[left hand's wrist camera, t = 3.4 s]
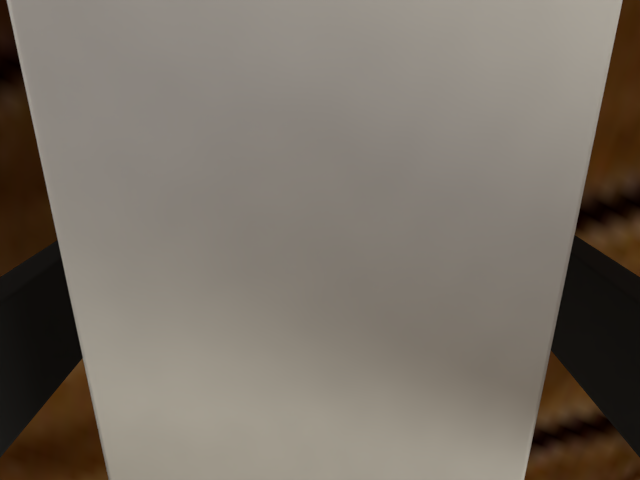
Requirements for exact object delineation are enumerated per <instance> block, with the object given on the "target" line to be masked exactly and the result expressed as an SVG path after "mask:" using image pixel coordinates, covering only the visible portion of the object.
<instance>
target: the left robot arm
mask: <svg viewBox="0 0 640 480" xmlns="http://www.w3.org/2000/svg"><path fill="white" fill-rule="evenodd" d="M551 351H552V352H553V353H554V354H555V355H556V357H557V358H558V359H559V360H560V362H561V363H562V364H563V365H564V366H565V368H566V369H567V370H568V371H569V372H570V374H571V375H572V376H573V377H574V378H575V380H576V381H577V382H578V383H579V385H580V386H581V387H582V388H583V389H584V391H585V392H586V393H587V394H588V395H589V397H590V398H591V399H592V400H593V401H594V403H595V404H596V405H597V406H598V408H599V409H600V410H601V411H602V412H603V414H604V415H605V416H606V417H607V418H608V420H609V421H610V422H611V423H612V424H613V426H614V427H615V428H616V429H617V431H618V432H619V433H620V434H621V435H622V437H623V438H624V439H625V440H626V441H627V443H628V444H629V445H630V446H631V447H632V449H633V450H634V451H635V452H636V454H637V455H638V456H639V457H640V277H638V276H637V275H635V274H634V273H632V272H631V271H629V270H628V269H626V268H625V267H623V266H621V265H620V264H618V263H617V262H615V261H614V260H612V259H611V258H609V257H608V256H606V255H604V254H603V253H601V252H600V251H598V250H597V249H595V248H594V247H592V246H591V245H589V244H587V243H586V242H584V241H583V240H581V239H580V238H578V237H577V236H575V235H574V239H573V244H572V248H571V253H570V258H569V263H568V268H567V273H566V278H565V283H564V287H563V292H562V297H561V302H560V307H559V312H558V317H557V321H556V326H555V331H554V336H553V341H552V346H551ZM82 358H83V356H82V351H81V347H80V342H79V337H78V333H77V328H76V323H75V319H74V314H73V309H72V304H71V300H70V295H69V290H68V286H67V281H66V276H65V272H64V267H63V262H62V258H61V253H60V248H59V243H58V240H57V241H56V242H54V243H53V244H51V245H49V246H48V247H46V248H45V249H43V250H42V251H40V252H39V253H37V254H36V255H34V256H32V257H31V258H29V259H28V260H26V261H25V262H23V263H22V264H20V265H19V266H17V267H15V268H14V269H12V270H11V271H9V272H8V273H6V274H5V275H3V276H2V277H0V457H1V456H2V455H3V453H4V452H5V451H6V450H7V449H8V447H9V446H10V445H11V444H12V443H13V441H14V440H15V439H16V438H17V437H18V435H19V434H20V433H21V432H22V430H23V429H24V428H25V427H26V426H27V424H28V423H29V422H30V421H31V420H32V418H33V417H34V416H35V415H36V414H37V412H38V411H39V410H40V409H41V407H42V406H43V405H44V404H45V403H46V401H47V400H48V399H49V398H50V397H51V395H52V394H53V393H54V392H55V391H56V389H57V388H58V387H59V386H60V384H61V383H62V382H63V381H64V380H65V378H66V377H67V376H68V375H69V374H70V372H71V371H72V370H73V369H74V368H75V366H76V365H77V364H78V363H79V361H80V360H81V359H82Z"/></svg>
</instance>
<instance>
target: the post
mask: <svg viewBox="0 0 640 480" xmlns="http://www.w3.org/2000/svg"><path fill="white" fill-rule="evenodd" d="M7 4H8V9H9V13H10V18H11V23H12V27H13V32H14V37H15V41H16V46H17V51H18V56H19V60H20V65H21V70H22V74H23V79H24V84H25V88H26V93H27V98H28V103H29V107H30V112H31V117H32V121H33V126H34V131H35V135H36V140H37V145H38V149H39V154H40V159H41V164H42V168H43V173H44V178H45V182H46V187H47V192H48V196H49V201H50V206H51V211H52V215H53V220H54V225H55V229H56V234H57V239H58V243H59V248H60V253H61V258H62V262H63V267H64V272H65V276H66V281H67V286H68V290H69V295H70V300H71V304H72V309H73V314H74V319H75V323H76V328H77V333H78V337H79V342H80V347H81V351H82V356H83V361H84V366H85V370H86V375H87V380H88V384H89V389H90V394H91V398H92V403H93V408H94V413H95V417H96V422H97V427H98V431H99V436H100V441H101V445H102V450H103V455H104V460H105V464H106V469H107V474H108V478H109V480H524V477H525V472H526V467H527V463H528V458H529V453H530V448H531V443H532V438H533V433H534V429H535V424H536V419H537V414H538V409H539V404H540V399H541V394H542V390H543V385H544V380H545V375H546V370H547V365H548V360H549V356H550V351H551V346H552V341H553V336H554V331H555V326H556V321H557V317H558V312H559V307H560V302H561V297H562V292H563V287H564V283H565V278H566V273H567V268H568V263H569V258H570V253H571V248H572V244H573V239H574V234H575V229H576V224H577V219H578V214H579V209H580V205H581V200H582V195H583V190H584V185H585V180H586V175H587V171H588V166H589V161H590V156H591V151H592V146H593V141H594V136H595V132H596V127H597V122H598V117H599V112H600V107H601V102H602V98H603V93H604V88H605V83H606V78H607V73H608V68H609V63H610V59H611V54H612V49H613V44H614V39H615V34H616V29H617V25H618V20H619V15H620V10H621V5H622V0H7Z"/></svg>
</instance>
